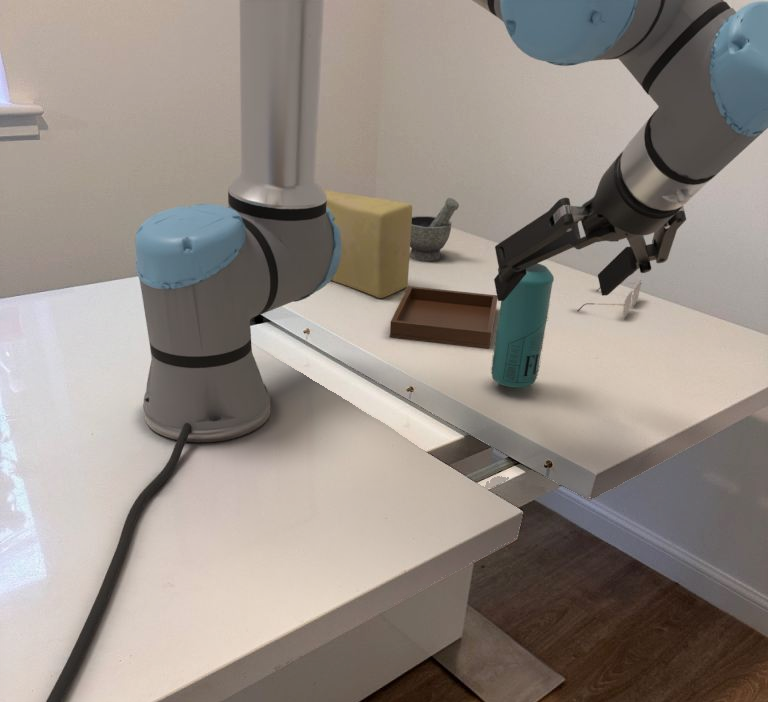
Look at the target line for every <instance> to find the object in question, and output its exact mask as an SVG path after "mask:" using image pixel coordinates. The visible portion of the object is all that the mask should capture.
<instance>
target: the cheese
mask: <svg viewBox="0 0 768 702" xmlns="http://www.w3.org/2000/svg"><path fill="white" fill-rule="evenodd" d="M322 189H323V190H324V191H325V193H326V194H327V203H326V207H327V208H328V209H329V210H330V211H331V212H332V214H333V216H334V218H335V220H334V223H335V225H337V226H338V227H339V230H340V234H341V241H342V252H341V258H340V263H339V266H338V269H337V271H336V273H335V275H334V276H333V278H332V279H331V280H330V281H332V282H335V283H337V284H341V285H344V286H347V287H350V288H352V289H355V290H357V291H361V292H362V293H364V294H368V295H371V296H373V297H376V298H378V299H383V298H386V297H389V296H391V295H393V294H395V293H397V292H399V291H401V290H404V289H405V288H406V287H408V285H409V270H410V254H411V247H410V239H411V224H412V217H413V205H412V204H411V203H408V202H401V201H396V200H391V199H384V198H379V197H375V196H374V197H373V196H366V195H359V194H358V195H357V194H351V193H345V192H339V191H334V190H333V191H332V190H328V189H324V188H322Z"/></svg>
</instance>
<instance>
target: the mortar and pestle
mask: <svg viewBox="0 0 768 702" xmlns="http://www.w3.org/2000/svg"><path fill="white" fill-rule="evenodd" d="M459 206H460V205H459V203H458V201H457V200H455V199H454V198H452V197H447V198H446V200H445V203H444V205H443V207H442V208H441V209H440V210H439V212H438V214H437V215H436V216H432V215H415V216H412V224H411V239H410V255H409V258H412V259H414V260H417V261H422V262H433V261H437V260H440V257H441V250H442V249H443V248H444V246H445V245H446V244H447V242H448V240H449V238H450V235H451V230H452V223H453V222H452V221H450V220H451V218H452V217H453V215H454V213H455V211H457V210H458V208H459Z"/></svg>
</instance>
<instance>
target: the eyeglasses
mask: <svg viewBox="0 0 768 702" xmlns="http://www.w3.org/2000/svg"><path fill="white" fill-rule="evenodd" d="M627 284H629V285H630V284H635V286H634V288H633V290H630V291H629V293H628V294H627V295H626V296H625V299H624V302H623V303H598V305H603V306H604V305H605V306H623V308H622V318H623V319H625V318H626V316H628V313H629V311H630V307H631V302H632V306H635V305H636V304H637V302H638V300H639V296H640V291H641V286H642V284H643V282H642V280H641V279H640V280H638V281H637V282H627ZM600 290H601V289H600V287H598V288H597V289H596V292H598V291H600ZM586 305H595V302H594V303H593V302H592V303H591V302H587V303H584V304H582V305H581V306H580V307H579V308H578V309H577V310H576V312H577V313H578V312H579V311H580V310H581V309H582V308H583V307H584V306H586Z"/></svg>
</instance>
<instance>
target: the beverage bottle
mask: <svg viewBox="0 0 768 702" xmlns="http://www.w3.org/2000/svg"><path fill="white" fill-rule="evenodd" d="M554 280H555V278H554V275H553V273H552V272H551V270H550V269H548V267H547V266H546V265H543V264H541V263H537V264H535V265H533V266H531V267H528V268H526V275H525V276H524V277H523V278H522V280H521V281H520V282H519V283H518V284H517V286H516V287H515V288H514V289H513V290H512V292H511V293H510V294H509V295H508V296H507V298H506V299H505V300H504V301H500V307H499V308H500V309H499V315H498V320H497V322H496V323H497V325H496V331H495V337H494V343H493V344H494V347H493V349H492V350H493V354H492V356H491V358H492V360H491V365H490V371H491V377H492V379H493V381H494V382H496V383H498V384H500V385H502V386H505V387H511V388H526V387H530V386H532V385H534V384H535V383H536V380H537V379H538V376H539V371H540V368H541V365H540V363H542V360H541V358H543V357H542V356H543V355H542V352H543V346H544V339H545V332H546V326H547V322H548V321H549V309H550V303H551V301H550V300H551V296H552V290H553V283H554Z"/></svg>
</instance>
